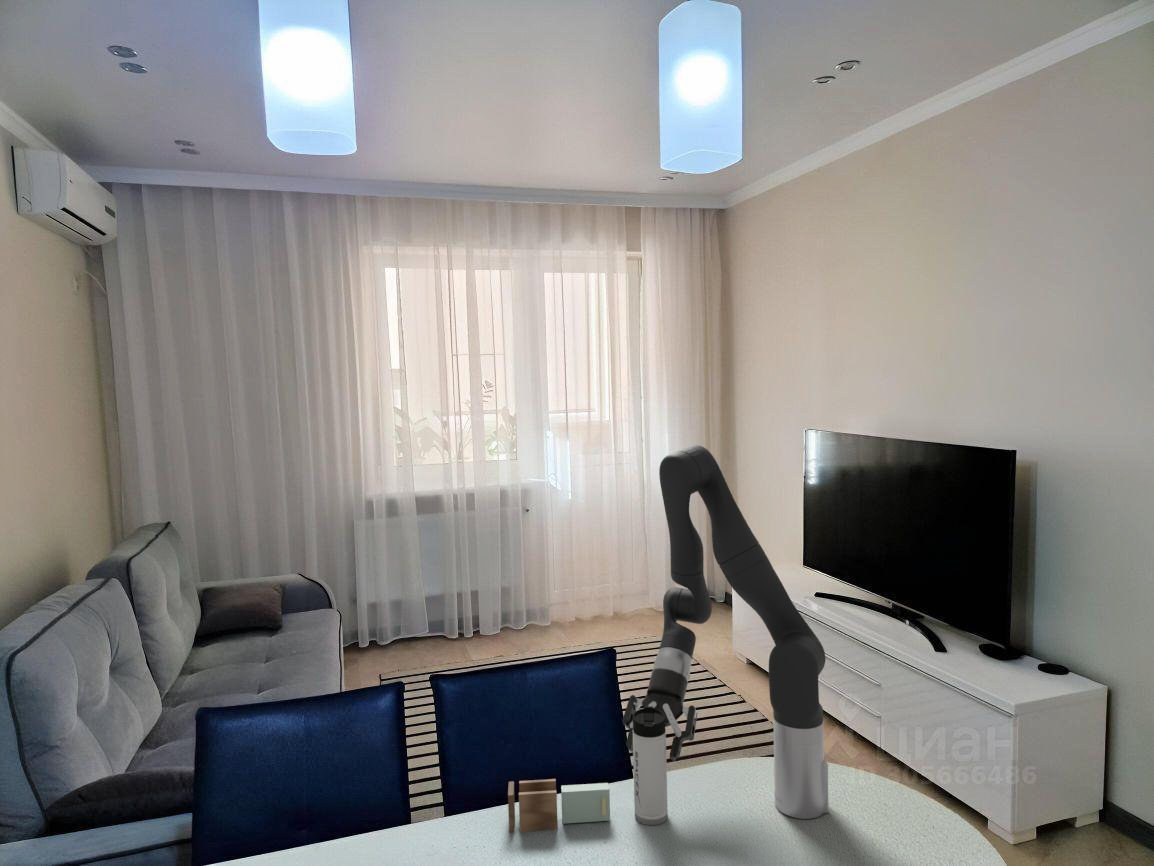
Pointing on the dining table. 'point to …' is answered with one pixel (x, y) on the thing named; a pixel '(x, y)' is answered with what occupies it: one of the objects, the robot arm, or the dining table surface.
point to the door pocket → (534, 805)
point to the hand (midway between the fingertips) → (651, 754)
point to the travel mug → (650, 766)
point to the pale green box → (585, 803)
